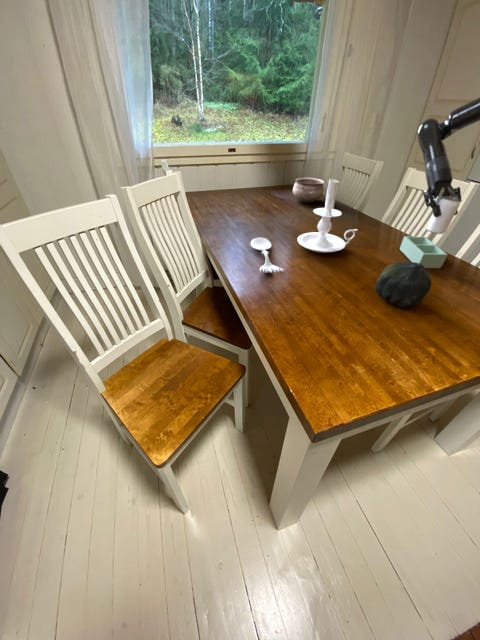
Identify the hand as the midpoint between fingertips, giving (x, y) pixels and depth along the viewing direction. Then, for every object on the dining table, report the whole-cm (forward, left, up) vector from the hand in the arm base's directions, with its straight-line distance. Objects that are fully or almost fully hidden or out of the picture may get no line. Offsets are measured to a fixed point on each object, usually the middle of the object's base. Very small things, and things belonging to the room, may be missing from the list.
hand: (446, 215), depth 101 cm
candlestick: (+39, -9, -19) cm, 44 cm away
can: (0, -1, -6) cm, 7 cm away
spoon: (+66, +3, -19) cm, 69 cm away
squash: (+23, +30, -19) cm, 42 cm away
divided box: (+1, -2, -18) cm, 19 cm away
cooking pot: (+37, -80, -19) cm, 91 cm away
